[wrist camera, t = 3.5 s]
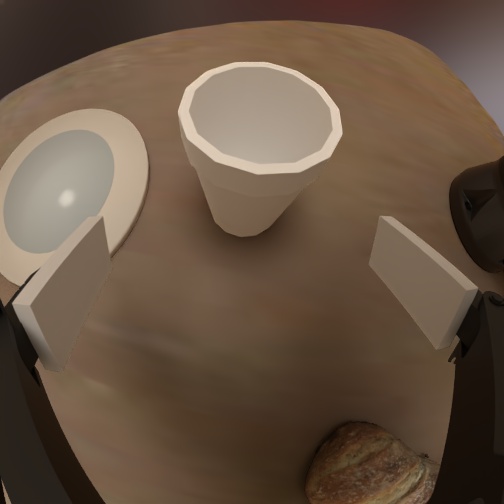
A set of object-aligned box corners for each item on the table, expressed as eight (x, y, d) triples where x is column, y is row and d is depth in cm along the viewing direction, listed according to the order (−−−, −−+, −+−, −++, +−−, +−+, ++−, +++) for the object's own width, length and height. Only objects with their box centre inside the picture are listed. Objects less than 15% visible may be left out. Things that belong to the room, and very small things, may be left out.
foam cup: (290, 258, 26) (348, 188, 14) (187, 248, 25) (161, 165, 13) (292, 170, 29) (332, 75, 17) (202, 160, 28) (198, 56, 16)
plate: (100, 91, 30) (97, 85, 29) (192, 194, 27) (191, 188, 26) (-21, 193, 24) (-26, 188, 23) (28, 335, 21) (21, 334, 20)
